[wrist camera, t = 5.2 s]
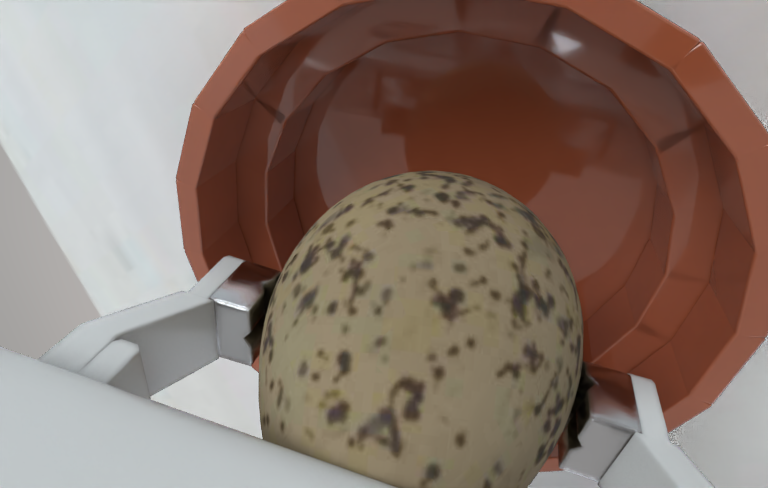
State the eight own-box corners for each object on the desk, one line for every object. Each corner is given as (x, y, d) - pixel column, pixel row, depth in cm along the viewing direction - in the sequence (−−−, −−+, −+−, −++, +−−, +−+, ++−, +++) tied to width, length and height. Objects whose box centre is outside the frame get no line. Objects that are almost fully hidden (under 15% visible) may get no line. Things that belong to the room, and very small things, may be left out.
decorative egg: (398, 336, 18) (279, 661, 10) (306, 170, 15) (38, 432, 7) (600, 301, 15) (667, 739, 7) (530, 83, 12) (498, 379, 4)
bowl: (254, -90, 14) (141, -107, 10) (849, 10, 12) (1010, 41, 8) (259, 312, 24) (199, 388, 19) (598, 416, 21) (612, 529, 17)
